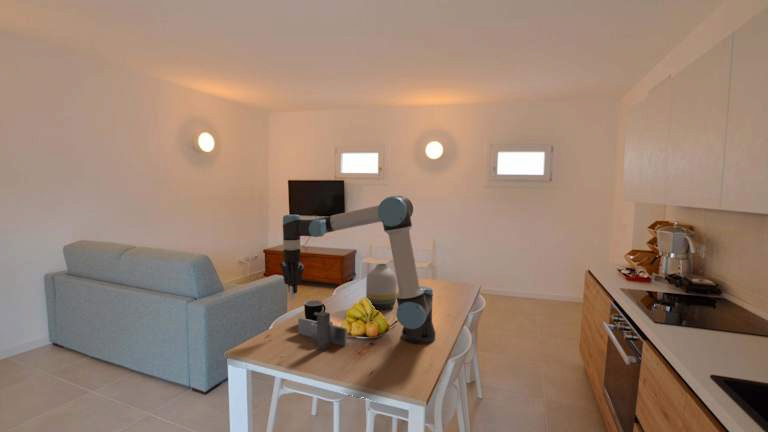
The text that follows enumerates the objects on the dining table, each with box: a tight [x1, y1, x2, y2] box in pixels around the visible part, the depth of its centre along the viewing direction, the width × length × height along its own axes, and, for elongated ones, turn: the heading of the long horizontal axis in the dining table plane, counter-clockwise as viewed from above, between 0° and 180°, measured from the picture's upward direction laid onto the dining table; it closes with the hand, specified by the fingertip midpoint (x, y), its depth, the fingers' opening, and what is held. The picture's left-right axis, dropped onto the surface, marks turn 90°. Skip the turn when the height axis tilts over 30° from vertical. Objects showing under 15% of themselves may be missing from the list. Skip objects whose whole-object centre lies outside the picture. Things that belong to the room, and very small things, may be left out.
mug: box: [303, 299, 326, 321], centre depth 177 cm, size 12×9×10 cm
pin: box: [316, 311, 331, 352], centre depth 148 cm, size 4×4×15 cm
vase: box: [365, 263, 398, 310], centre depth 202 cm, size 17×17×24 cm
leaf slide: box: [297, 317, 333, 338], centre depth 159 cm, size 16×7×7 cm, turn 63°
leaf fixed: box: [311, 324, 348, 347], centre depth 155 cm, size 16×6×7 cm, turn 63°
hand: (293, 299), depth 164 cm, fingers closed
